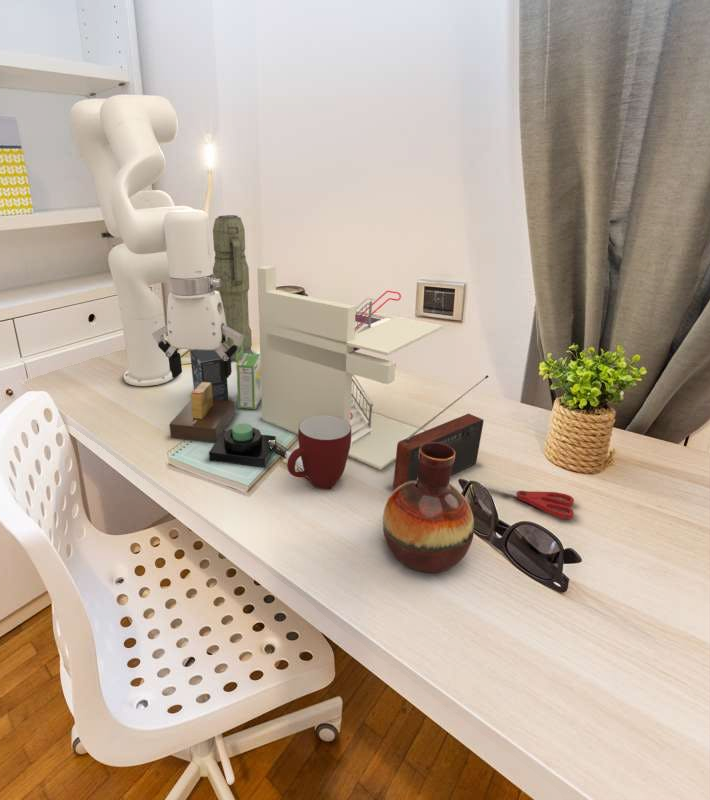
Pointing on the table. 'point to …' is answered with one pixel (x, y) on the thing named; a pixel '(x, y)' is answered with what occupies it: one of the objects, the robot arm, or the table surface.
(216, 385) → the box
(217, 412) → the plate
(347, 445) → the mug
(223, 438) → the button block
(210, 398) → the thumb turn
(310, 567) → the table surface
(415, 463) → the radio
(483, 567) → the table surface
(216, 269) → the green carrying bag
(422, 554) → the vase
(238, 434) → the release button
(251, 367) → the ink box
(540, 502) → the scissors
